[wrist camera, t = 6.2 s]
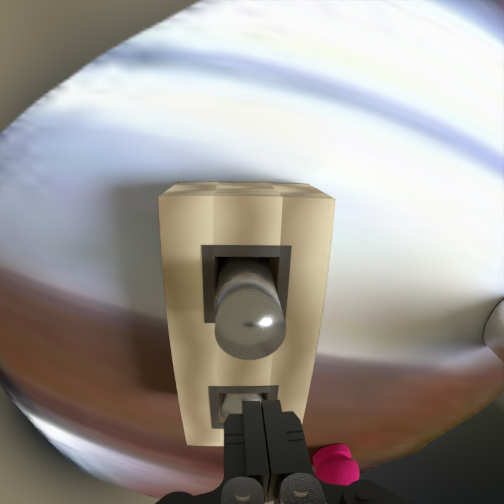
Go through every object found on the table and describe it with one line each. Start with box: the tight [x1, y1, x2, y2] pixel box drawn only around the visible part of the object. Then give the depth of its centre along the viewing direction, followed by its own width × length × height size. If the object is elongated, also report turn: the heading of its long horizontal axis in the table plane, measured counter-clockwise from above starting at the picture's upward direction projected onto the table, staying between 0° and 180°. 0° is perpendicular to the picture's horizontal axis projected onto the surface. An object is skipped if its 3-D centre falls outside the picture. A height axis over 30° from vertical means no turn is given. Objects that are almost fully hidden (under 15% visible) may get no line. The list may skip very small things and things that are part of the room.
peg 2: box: [222, 393, 264, 418], centre depth 31 cm, size 4×4×8 cm
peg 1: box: [214, 257, 286, 360], centre depth 21 cm, size 4×4×8 cm
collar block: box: [158, 182, 335, 446], centre depth 29 cm, size 12×26×8 cm, turn 178°
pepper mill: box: [313, 444, 359, 485], centre depth 34 cm, size 7×7×20 cm
